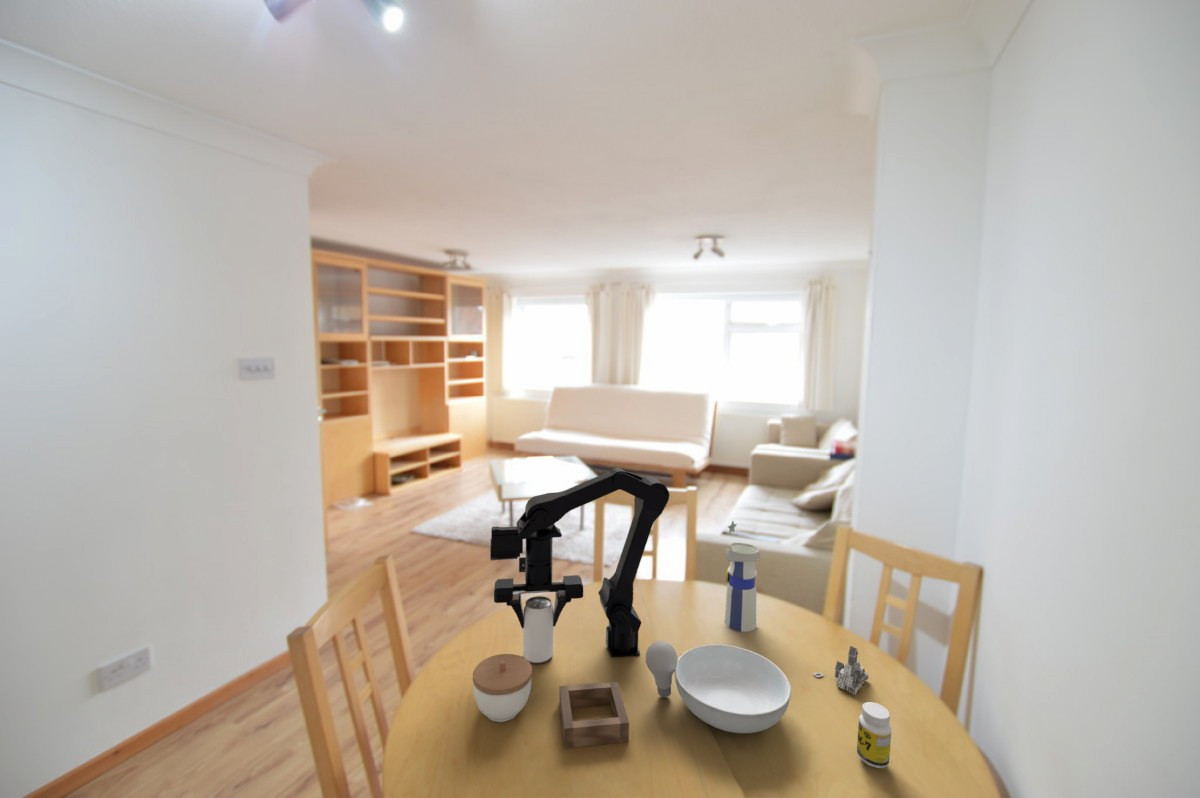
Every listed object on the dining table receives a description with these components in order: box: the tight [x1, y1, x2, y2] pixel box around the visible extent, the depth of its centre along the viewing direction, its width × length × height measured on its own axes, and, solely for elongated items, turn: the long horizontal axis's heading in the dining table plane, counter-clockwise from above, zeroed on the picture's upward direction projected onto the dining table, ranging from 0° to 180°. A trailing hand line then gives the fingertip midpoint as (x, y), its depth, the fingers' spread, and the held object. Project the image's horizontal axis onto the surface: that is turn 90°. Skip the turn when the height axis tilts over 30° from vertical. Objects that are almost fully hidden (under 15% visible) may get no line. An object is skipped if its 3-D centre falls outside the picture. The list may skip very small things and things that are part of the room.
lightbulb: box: [644, 640, 679, 699], centre depth 97 cm, size 6×6×11 cm
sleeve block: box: [558, 681, 630, 749], centre depth 91 cm, size 11×11×4 cm
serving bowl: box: [673, 643, 792, 734], centre depth 94 cm, size 21×21×7 cm
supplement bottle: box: [856, 701, 892, 769], centre depth 83 cm, size 5×5×8 cm
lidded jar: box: [472, 653, 533, 723], centre depth 93 cm, size 11×11×9 cm
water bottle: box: [723, 520, 761, 633], centre depth 124 cm, size 8×9×25 cm
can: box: [522, 595, 554, 664], centre depth 109 cm, size 6×6×12 cm
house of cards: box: [813, 645, 869, 696], centre depth 106 cm, size 9×9×8 cm
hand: (538, 626), depth 109 cm, fingers closed on can, 6 cm apart
